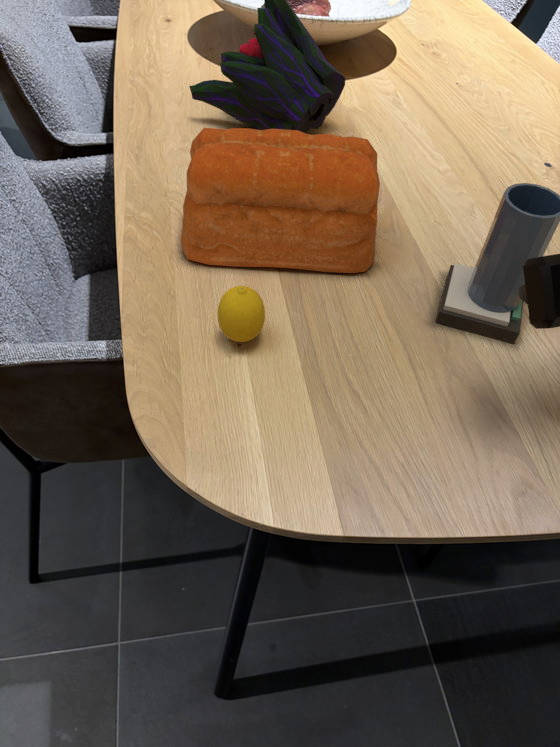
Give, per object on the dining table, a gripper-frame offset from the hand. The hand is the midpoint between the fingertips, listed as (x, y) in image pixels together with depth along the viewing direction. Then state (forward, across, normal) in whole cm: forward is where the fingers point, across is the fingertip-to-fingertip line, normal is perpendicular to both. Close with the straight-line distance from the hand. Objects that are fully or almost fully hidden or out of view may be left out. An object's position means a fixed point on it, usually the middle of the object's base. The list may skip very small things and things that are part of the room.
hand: (558, 286), depth 62 cm
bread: (+31, +20, -12) cm, 39 cm away
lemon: (+19, +30, 0) cm, 36 cm away
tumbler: (+15, -2, 0) cm, 15 cm away
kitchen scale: (+17, -1, +2) cm, 17 cm away
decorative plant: (+56, +13, -37) cm, 69 cm away
